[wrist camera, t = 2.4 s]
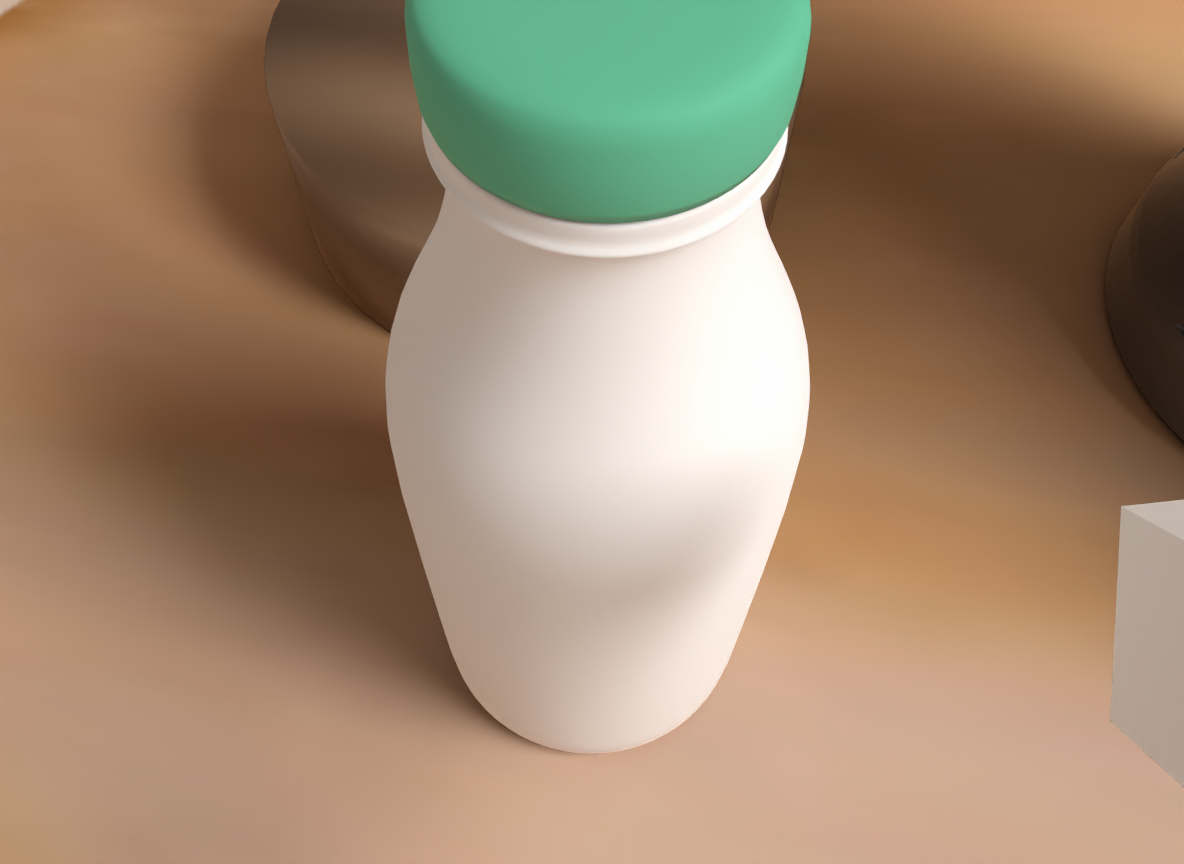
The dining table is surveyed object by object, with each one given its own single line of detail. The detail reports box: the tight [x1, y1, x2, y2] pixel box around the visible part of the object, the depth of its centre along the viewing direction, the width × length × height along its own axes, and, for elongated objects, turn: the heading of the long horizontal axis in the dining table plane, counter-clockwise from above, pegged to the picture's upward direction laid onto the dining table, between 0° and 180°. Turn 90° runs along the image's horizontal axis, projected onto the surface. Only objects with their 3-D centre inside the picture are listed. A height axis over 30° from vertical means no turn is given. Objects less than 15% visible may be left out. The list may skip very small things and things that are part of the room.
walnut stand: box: [264, 0, 806, 332], centre depth 34 cm, size 16×16×6 cm
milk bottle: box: [385, 0, 811, 754], centre depth 20 cm, size 8×8×20 cm
